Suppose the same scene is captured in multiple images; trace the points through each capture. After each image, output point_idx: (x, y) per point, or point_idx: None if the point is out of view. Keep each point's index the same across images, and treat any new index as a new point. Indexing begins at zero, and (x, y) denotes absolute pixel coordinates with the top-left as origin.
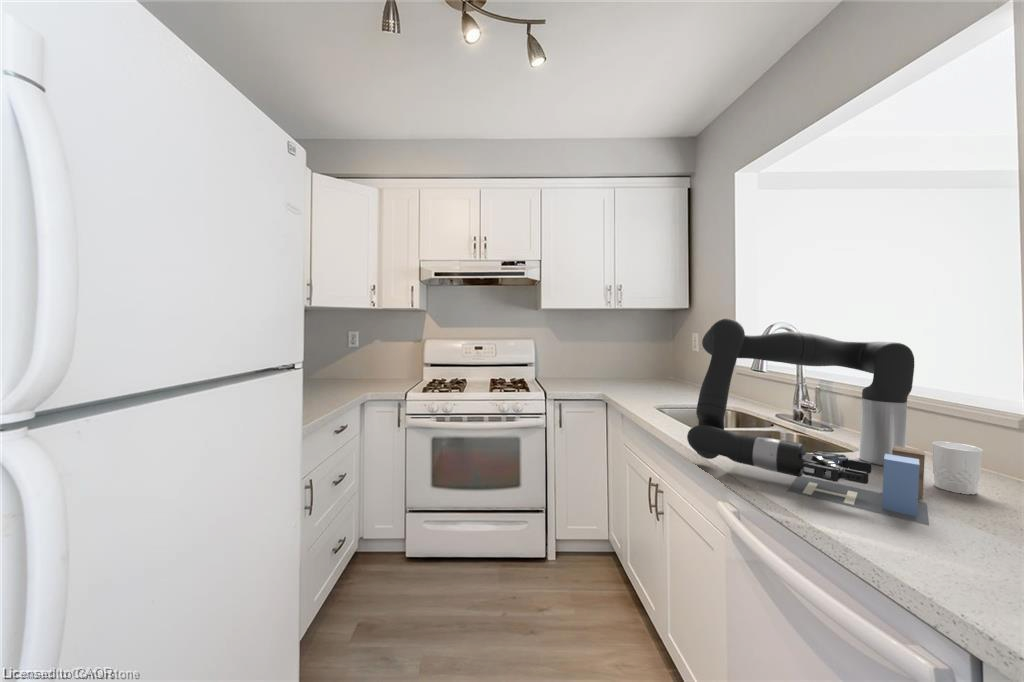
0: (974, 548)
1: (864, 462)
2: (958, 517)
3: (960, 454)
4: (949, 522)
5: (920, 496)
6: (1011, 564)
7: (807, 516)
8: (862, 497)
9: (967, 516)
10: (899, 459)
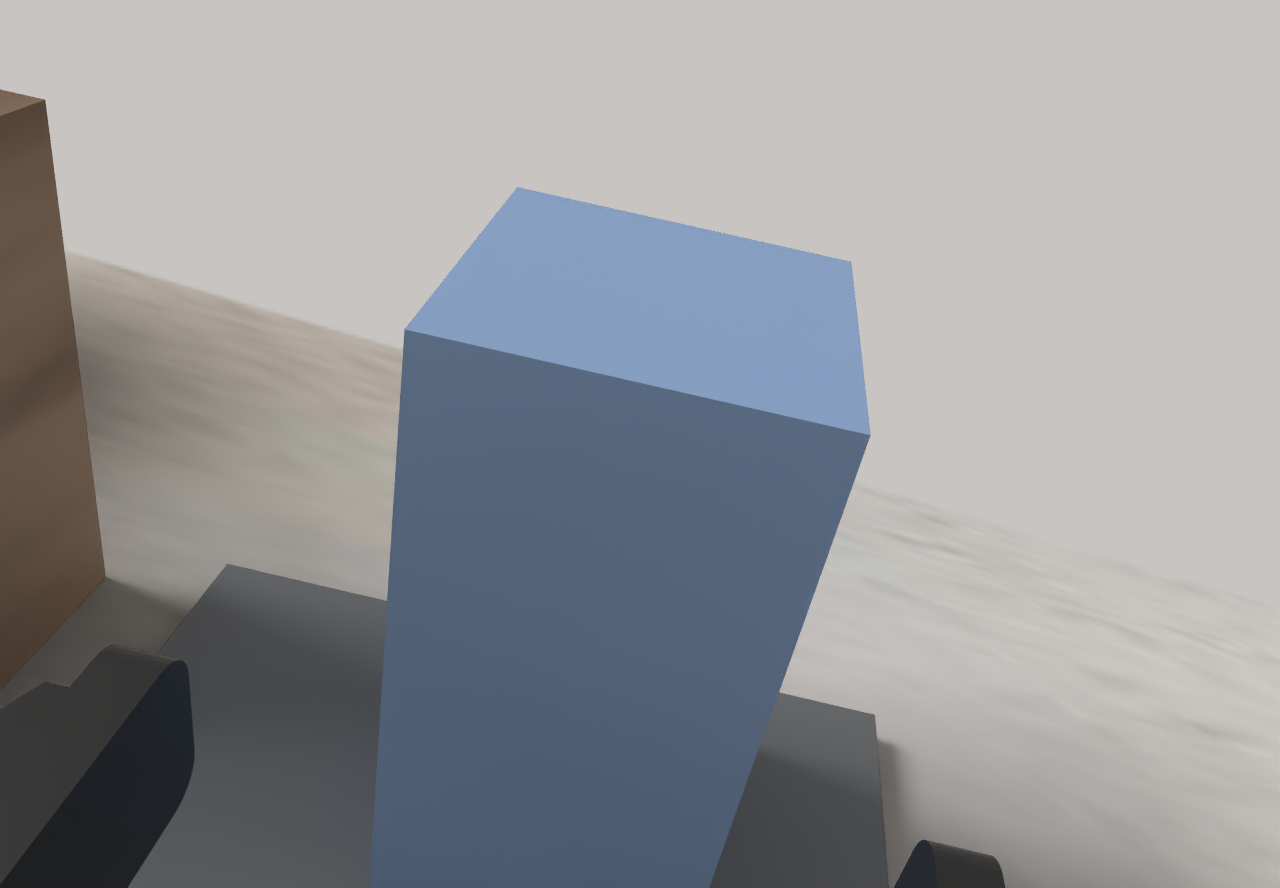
0: (1012, 619)
1: (114, 718)
2: None
3: None
4: None
5: (91, 548)
6: (1092, 560)
7: None
8: None
9: (367, 460)
10: (720, 312)
